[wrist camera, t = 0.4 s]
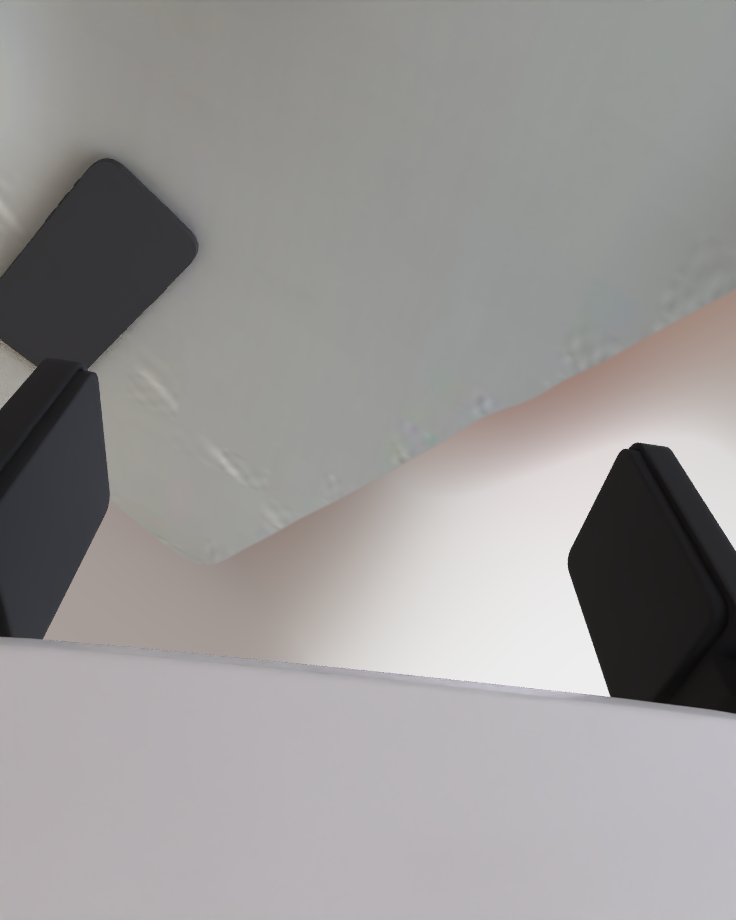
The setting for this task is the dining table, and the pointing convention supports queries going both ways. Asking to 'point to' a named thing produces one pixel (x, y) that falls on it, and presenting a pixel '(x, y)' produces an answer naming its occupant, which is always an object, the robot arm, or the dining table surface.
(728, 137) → the dining table surface
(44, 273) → the phone
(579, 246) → the dining table surface
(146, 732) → the robot arm
